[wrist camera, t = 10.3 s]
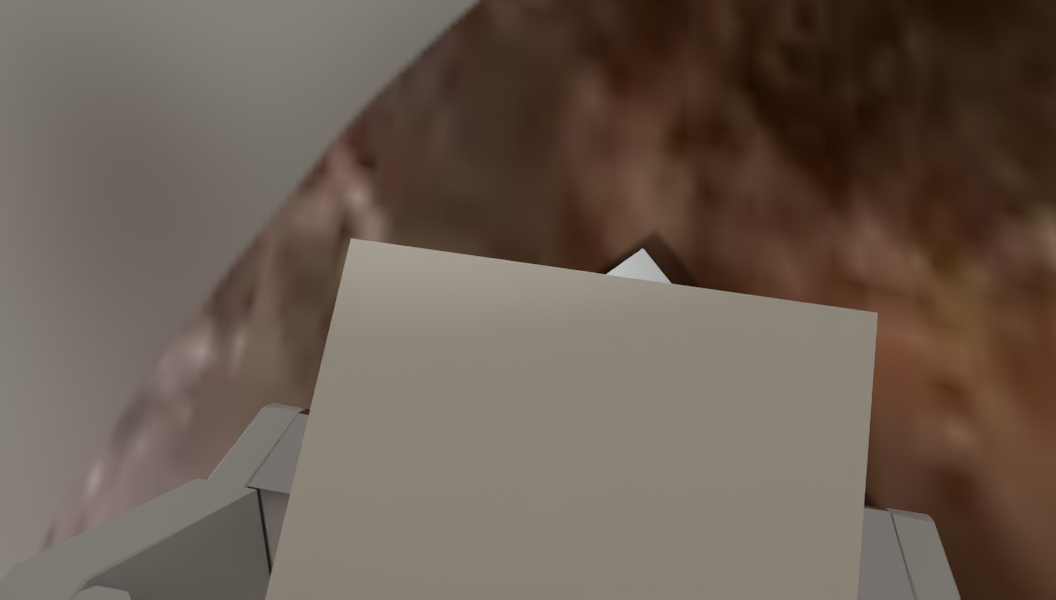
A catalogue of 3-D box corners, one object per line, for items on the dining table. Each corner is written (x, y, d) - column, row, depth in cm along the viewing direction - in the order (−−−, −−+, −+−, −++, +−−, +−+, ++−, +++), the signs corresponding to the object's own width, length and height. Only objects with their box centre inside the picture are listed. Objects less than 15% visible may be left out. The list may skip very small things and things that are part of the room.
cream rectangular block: (463, 361, 16) (351, 238, 9) (747, 407, 15) (878, 312, 8) (404, 659, 15) (217, 798, 8) (713, 723, 14) (832, 945, 7)
